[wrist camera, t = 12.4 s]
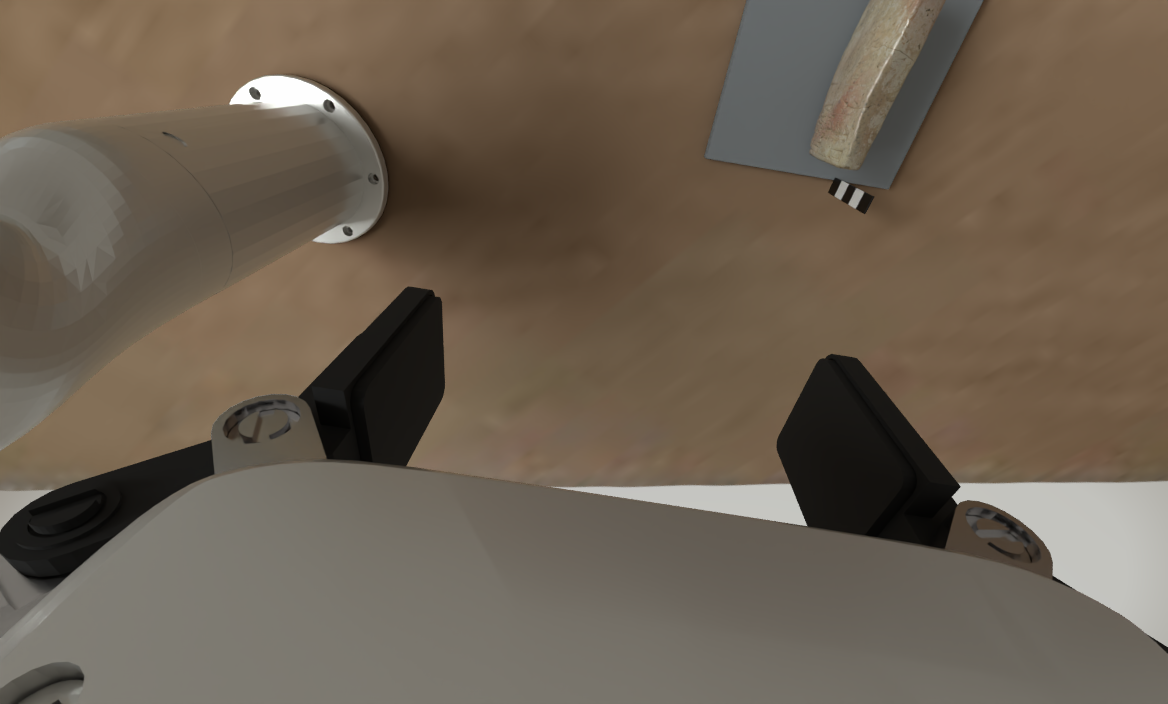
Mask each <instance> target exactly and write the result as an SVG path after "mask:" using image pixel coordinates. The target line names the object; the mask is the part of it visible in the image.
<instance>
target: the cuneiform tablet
mask: <svg viewBox="0 0 1168 704" xmlns="http://www.w3.org/2000/svg"><path fill="white" fill-rule="evenodd" d="M945 1H946V0H870V1H869V3H868V5H867V6H866V8H865V10H864V12H863V14H862V16H861V18H860V20H859V23H858V25H857V26H856V28H855V30H854V32H853V34H852V37H851V39H850V41H849V43H848V45H847V47H846V49H845V51H844V53H843V55H842V58H841V60H840V62H839V65H838V67H837V69H836V72H835V74H834V76H833V79H832V83H831V85H830V87H829V90H828V92H827V95H826V98H825V101H824V104H823V107H822V111H821V113H820V115H819V117H818V120H817V123H816V126H815V129H814V132H815V133H814V134H813V137H812V140H811V143H810V147H811V149H810V150H809V153H810V155H811V156H813V157H815V158H817V159H818V160H820V161H823V162H826V163H828V164H830V165H833V166H835V167H837V168H841V169H848V170H859V169H860V168H861V166H862V164H863V162H864V160H865V157H866V155H867V153H868V152H869V150H870V147H871V145H872V143H873V141H874V140H875V138H876V136H877V135H878V133H879V131H880V129H881V127H882V125H883V122H884V120H885V118H886V116H887V114H888V112H889V110H890V108H891V106H892V104H893V102H894V101H895V99H896V97H897V95H898V93H899V91H900V89H901V87H902V85H903V83H904V81H905V79H906V77H907V75H908V74H909V72H910V70H911V68H912V67H913V65H914V63H915V61H916V59H917V58H918V56H919V54H920V52H921V50H922V48H923V46H924V44H925V42H926V39H927V37H928V35H929V33H930V31H931V29H932V27H933V25H934V23H935V21H936V19H937V17H938V15H939V13H940V11H941V9H942V7H943V5H944V3H945ZM828 193H830V194H831V195H833V196H835V197H836V198H838V199H840V200H841V201H843V202H845V203H847V204H848V205H850V206H852V207H853V208H855V209H857V210H858V211H860V212H862V213H864V214H865V213H866V212H867V210H868V208H869V206H870V204H871V202H872V200H873V198H874V196H872V195H870V194H868V193H866V192H864V191H862V190H860V189H858V188H856V187H854V186H852V185H850V184H848V183H846V182H844V181H842V180H840V179H838V178H835V179H834V181H833V183H832V185H831V187H830V189H829V192H828Z"/></svg>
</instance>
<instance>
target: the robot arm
mask: <svg viewBox="0 0 1168 704" xmlns="http://www.w3.org/2000/svg"><path fill="white" fill-rule="evenodd" d="M333 103H334V106H335V108H334V107H333ZM376 176H377V177H378V179H377V178H376ZM387 195H388V174H387V169H386V165H385V160H384V157H383V154H382V152H381V149H380V147H379V144H378V142H377V140H376V139H375V137H374V135H373V133H372V132H371V130H370V128H369V127H368V125H367V124H366V123H365V121H364V120H363V119H362V118H361V116H360V115H359V114H358V113H357V111H356V110H355V109H353V108H352V107H351V106H350V105H349V104H348V103H347V102H346V101H345V100H344V99H343V98H342V97H340V96H339V95H337V94H336V93H334V92H333V91H332V90H330V89H329V88H327V87H325V86H323V85H321V84H319V83H317V82H315V81H313V80H310V79H306V78H303V77H299V76H295V75H280V74H279V75H266V76H262V77H259V78H256V79H253V80H250V81H249V82H248V83H246V84H245V85H243V86H242V87H240V88H239V90H238V91H237V92H236V93H235V95H234V96H233V97H232V98H231V100H230V103H229V104H228V105H218V106H208V107H198V108H188V109H179V110H169V111H159V112H149V113H139V114H129V115H119V116H109V117H99V118H89V119H79V120H70V121H60V122H51V123H45V124H41V125H36V126H31V127H27V128H25V129H22V130H19V131H16V132H13V133H11V134H8V135H6V136H4V137H3V138H1V139H0V450H2V449H3V448H5V447H6V446H8V445H10V444H11V443H13V442H14V441H16V440H17V439H19V438H20V437H22V436H23V435H25V434H26V433H28V432H29V431H30V430H31V429H33V428H34V427H35V426H36V425H38V424H39V423H40V422H41V421H43V420H44V419H45V418H46V417H48V416H49V415H50V414H51V413H52V412H54V411H55V410H56V409H57V408H58V407H60V406H61V405H62V404H63V403H64V402H65V401H66V400H68V399H69V398H70V397H71V396H72V395H73V394H74V393H75V392H76V391H77V390H79V389H80V388H81V387H82V386H83V385H84V384H85V383H86V382H87V381H88V380H90V379H91V378H92V377H93V376H94V375H95V374H96V373H97V372H99V371H100V370H101V369H102V368H103V367H105V366H106V365H107V364H108V363H109V362H111V361H112V360H113V359H114V358H115V357H117V356H118V355H119V354H121V353H122V352H123V351H125V350H126V349H127V348H129V347H130V346H131V345H133V344H134V343H136V342H137V341H139V340H140V339H142V338H143V337H145V336H146V335H148V334H149V333H151V332H152V331H154V330H155V329H157V328H158V327H160V326H161V325H163V324H165V323H166V322H168V321H170V320H172V319H173V318H175V317H177V316H178V315H180V314H182V313H183V312H185V311H187V310H188V309H190V308H192V307H194V306H195V305H197V304H199V303H201V302H202V301H204V300H206V299H208V298H210V297H211V296H213V295H215V294H217V293H219V292H221V291H222V290H224V289H226V288H228V287H230V286H232V285H233V284H235V283H237V282H239V281H240V280H242V279H244V278H246V277H248V276H249V275H251V274H253V273H255V272H256V271H258V270H260V269H262V268H263V267H265V266H267V265H269V264H271V263H272V262H274V261H276V260H278V259H279V258H281V257H283V256H285V255H286V254H288V253H290V252H292V251H294V250H295V249H297V248H299V247H301V246H302V245H304V244H306V243H308V242H310V241H314V242H318V243H329V244H335V243H343V242H348V241H350V240H353V239H356V238H358V237H359V236H361V235H363V234H364V233H366V232H367V231H368V230H370V229H371V228H372V227H373V226H374V225H375V224H376V223H377V221H378V220H379V218H380V217H381V215H382V213H383V211H384V208H385V205H386V202H387ZM444 389H445V374H444V347H443V320H442V301H441V298H440V297H435V295H434V292H433V291H432V290H428V289H421V288H415V287H407V288H405V289H404V290H403V291H402V292H401V293H400V295H399V296H398V297H397V298H396V299H395V300H394V301H393V302H392V303H391V304H390V305H389V306H388V307H387V308H386V309H385V310H384V311H383V312H382V313H381V314H380V315H379V316H378V317H377V318H376V319H375V320H374V321H373V323H372V324H371V325H370V326H369V327H368V328H367V329H366V330H365V331H364V332H363V333H361V334H360V335H358V336H357V337H356V338H355V339H354V340H353V341H352V342H351V343H350V344H349V345H348V346H347V347H346V348H345V349H344V350H343V351H342V352H341V353H340V354H339V355H338V357H337V358H336V359H335V360H334V361H333V362H332V363H331V364H330V365H329V366H328V367H327V368H326V369H325V370H324V371H323V372H322V373H321V374H320V375H319V376H318V377H317V378H316V379H315V380H314V381H313V382H312V383H311V384H310V385H309V386H308V387H307V388H306V389H305V390H304V391H303V393H302V394H301V395H300V396H299V397H296V396H291V395H287V394H270V395H264V396H258V397H255V398H252V399H248V400H245V401H243V402H241V403H239V404H237V405H235V406H233V407H231V408H229V409H228V410H227V411H225V412H224V413H223V414H221V415H220V416H219V417H218V419H217V420H216V421H215V423H214V424H213V427H212V431H211V439H212V440H210V441H207V442H204V443H200V444H197V445H194V446H191V447H188V448H184V449H181V450H178V451H175V452H172V453H168V454H165V455H162V456H159V457H155V458H152V459H149V460H146V461H143V462H139V463H136V464H133V465H130V466H127V467H123V468H120V469H117V470H114V471H111V472H107V473H104V474H101V475H98V476H95V477H91V478H88V479H85V480H82V481H79V482H75V483H72V484H69V485H67V486H64V487H62V488H59V489H56V490H54V491H51V492H49V493H47V494H46V495H44V496H42V497H40V498H38V499H36V500H35V501H33V502H31V503H30V504H28V505H27V506H25V507H24V508H23V509H21V510H20V511H19V512H17V513H16V514H15V515H14V516H13V517H12V518H11V519H10V520H9V521H8V522H7V523H6V524H5V525H4V527H3V528H2V529H1V532H0V704H1168V647H1166V646H1165V645H1163V644H1162V643H1160V642H1158V641H1157V640H1155V639H1154V638H1152V637H1150V636H1149V635H1147V634H1145V633H1144V632H1143V631H1142V630H1141V629H1140V628H1138V627H1137V626H1136V625H1134V624H1133V623H1132V622H1131V621H1129V620H1128V619H1126V618H1125V617H1123V616H1122V615H1120V614H1119V613H1117V612H1115V611H1113V610H1111V609H1110V608H1108V607H1106V606H1105V605H1103V604H1101V603H1099V602H1098V601H1096V600H1094V599H1092V598H1090V597H1088V596H1086V595H1084V594H1082V593H1080V592H1078V591H1076V590H1075V589H1073V588H1072V587H1070V586H1068V585H1067V584H1065V583H1063V582H1062V581H1060V580H1058V579H1057V578H1056V577H1054V576H1052V570H1053V568H1052V567H1053V562H1052V558H1051V554H1050V552H1049V550H1048V549H1047V547H1046V546H1045V544H1044V543H1043V541H1042V540H1041V539H1040V538H1039V537H1038V536H1037V535H1036V534H1035V533H1034V532H1033V531H1032V530H1031V529H1029V528H1028V527H1026V525H1024V524H1023V523H1022V522H1021V521H1019V520H1018V519H1016V518H1014V517H1013V516H1011V515H1010V514H1008V513H1006V512H1005V511H1002V510H1000V509H998V508H996V507H994V506H992V505H989V504H986V503H982V502H979V501H970V500H967V501H963V502H960V503H959V504H958V505H957V504H956V502H955V501H954V499H953V498H952V496H953V495H954V494H955V493H956V491H957V490H958V489H959V488H960V485H959V484H958V483H957V482H956V480H955V479H954V478H953V477H952V475H951V474H950V473H949V472H948V470H947V469H946V468H945V467H944V465H943V464H942V463H941V462H940V460H939V459H938V458H937V457H936V455H935V454H934V453H933V452H932V450H931V449H930V448H929V447H928V445H927V444H926V443H925V442H924V440H923V439H922V438H921V437H920V435H919V434H918V433H917V432H916V431H915V429H914V428H913V427H912V426H911V424H910V423H909V422H908V421H907V419H906V418H905V417H904V416H903V414H902V413H901V412H900V411H899V409H898V408H897V407H896V406H895V404H894V403H893V402H892V401H891V399H890V398H889V397H888V396H887V394H886V393H885V392H884V391H883V389H882V388H881V387H880V386H879V384H878V383H877V382H876V381H875V380H874V378H873V377H872V376H871V375H870V373H869V372H868V371H867V370H866V368H865V367H864V366H863V365H862V363H861V362H860V361H859V360H858V359H857V358H854V357H847V356H841V355H835V354H830V355H828V356H827V357H826V358H825V359H820V360H819V361H818V362H817V364H816V366H815V368H814V369H813V371H812V373H811V375H810V377H809V379H808V381H807V383H806V385H805V387H804V389H803V391H802V392H801V394H800V396H799V398H798V400H797V402H796V404H795V406H794V408H793V410H792V412H791V414H790V415H789V417H788V419H787V421H786V423H785V425H784V427H783V429H782V431H781V433H780V435H779V437H778V439H777V451H778V454H779V457H780V459H781V462H782V464H783V467H784V469H785V472H786V474H787V477H788V479H789V481H790V484H791V486H792V489H793V491H794V494H795V496H796V499H797V501H798V504H799V506H800V509H801V511H802V514H803V516H804V519H805V521H806V523H807V526H801V525H795V524H788V523H782V522H776V521H770V520H763V519H757V518H750V517H744V516H737V515H730V514H725V513H718V512H711V511H704V510H698V509H692V508H685V507H679V506H672V505H666V504H659V503H652V502H646V501H639V500H633V499H626V498H619V497H613V496H606V495H600V494H593V493H587V492H580V491H573V490H566V489H559V488H553V487H546V486H539V485H532V484H526V483H519V482H512V481H505V480H498V479H492V478H485V477H478V476H471V475H464V474H458V473H451V472H444V471H437V470H430V469H424V468H416V467H407V466H406V465H407V463H408V461H409V460H410V458H411V456H412V454H413V452H414V450H415V448H416V447H417V445H418V443H419V441H420V439H421V437H422V435H423V433H424V432H425V430H426V428H427V426H428V424H429V422H430V420H431V419H432V417H433V415H434V413H435V411H436V409H437V407H438V406H439V404H440V402H441V400H442V398H443V394H444Z"/></svg>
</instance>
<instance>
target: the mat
mask: <svg viewBox="0 0 1168 704" xmlns="http://www.w3.org/2000/svg"><path fill="white" fill-rule="evenodd" d="M869 1H870V0H747V1H746V4H745V8H744V12H743V15H742V19H741V23H740V27H739V30H738V34H737V38H736V41H735V45H734V49H733V52H732V56H731V60H730V63H729V67H728V71H727V74H726V78H725V82H724V85H723V89H722V93H721V96H720V100H719V104H718V107H717V111H716V115H715V119H714V122H713V126H712V130H711V133H710V137H709V141H708V144H707V148H706V152H705V155H704V157H705V158H707V159H713V160H719V161H724V162H730V163H736V164H742V165H748V166H754V167H760V168H766V169H771V170H777V171H783V172H789V173H795V174H801V175H807V176H813V177H818V178H824V179H830V180H834V179H835V178H838V179H840V180H842V181H844V182H848V183H854V184H860V185H866V186H871V187H877V188H883V189H889V187H890V186H891V184H892V182H893V180H894V178H895V176H896V174H897V172H898V170H899V168H900V166H901V164H902V162H903V160H904V158H905V156H906V154H907V152H908V150H909V148H910V146H911V144H912V142H913V140H914V138H915V136H916V134H917V132H918V130H919V128H920V126H921V124H922V122H923V120H924V118H925V116H926V114H927V112H928V110H929V108H930V106H931V104H932V102H933V100H934V98H935V96H936V94H937V92H938V90H939V88H940V86H941V84H942V82H943V80H944V78H945V76H946V74H947V72H948V70H949V68H950V66H951V64H952V62H953V60H954V58H955V56H956V54H957V52H958V50H959V48H960V46H961V44H962V42H963V40H964V38H965V36H966V34H967V32H968V30H969V28H970V26H971V24H972V22H973V20H974V18H975V16H976V14H977V12H978V10H979V8H980V6H981V4H982V2H983V0H946V1H945V3H944V5H943V7H942V9H941V11H940V13H939V15H938V17H937V19H936V21H935V23H934V25H933V27H932V29H931V31H930V33H929V35H928V37H927V39H926V42H925V44H924V46H923V48H922V50H921V52H920V54H919V56H918V58H917V59H916V61H915V63H914V65H913V67H912V68H911V70H910V72H909V74H908V75H907V77H906V79H905V81H904V83H903V85H902V87H901V89H900V91H899V93H898V95H897V97H896V99H895V101H894V102H893V104H892V106H891V108H890V110H889V112H888V114H887V116H886V118H885V120H884V122H883V125H882V127H881V129H880V131H879V133H878V135H877V136H876V138H875V140H874V141H873V143H872V145H871V147H870V150H869V152H868V153H867V155H866V157H865V160H864V162H863V164H862V166H861V168H860V169H859V170H848V169H841V168H837V167H835V166H833V165H830V164H828V163H826V162H823V161H820V160H818V159H817V158H815V157H813V156H811V155H810V153H809V150H810V149H811V147H810V143H811V140H812V137H813V134H814V133H815V132H814V129H815V126H816V123H817V120H818V117H819V115H820V113H821V111H822V107H823V104H824V101H825V98H826V95H827V92H828V90H829V87H830V85H831V83H832V79H833V76H834V74H835V72H836V69H837V67H838V65H839V62H840V60H841V58H842V55H843V53H844V51H845V49H846V47H847V45H848V43H849V41H850V39H851V37H852V34H853V32H854V30H855V28H856V26H857V25H858V23H859V20H860V18H861V16H862V14H863V12H864V10H865V8H866V6H867V5H868V3H869Z"/></svg>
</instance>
